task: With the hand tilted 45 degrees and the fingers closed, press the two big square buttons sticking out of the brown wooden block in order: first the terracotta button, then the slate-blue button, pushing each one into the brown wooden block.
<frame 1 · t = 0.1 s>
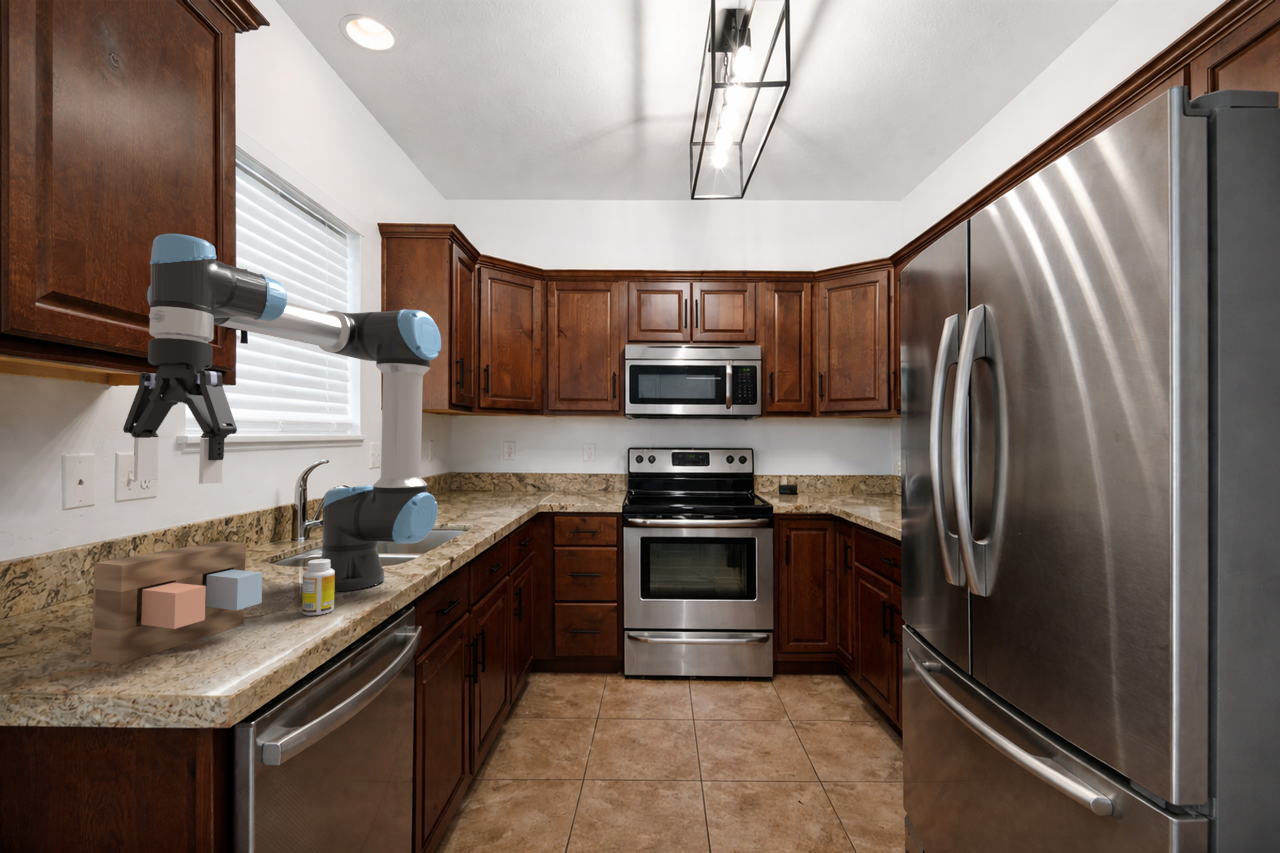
hand: (177, 481, 85), 28 cm above the countertop, tool pointing down, fingers open, 13 cm apart
slate button: (234, 589, 99), point 8 cm above the countertop, slide at 0.0 cm
brown wooden block: (174, 640, 96), on the countertop
supplement bottle: (318, 613, 113), on the countertop
terracotta button: (173, 604, 90), point 8 cm above the countertop, slide at 0.0 cm
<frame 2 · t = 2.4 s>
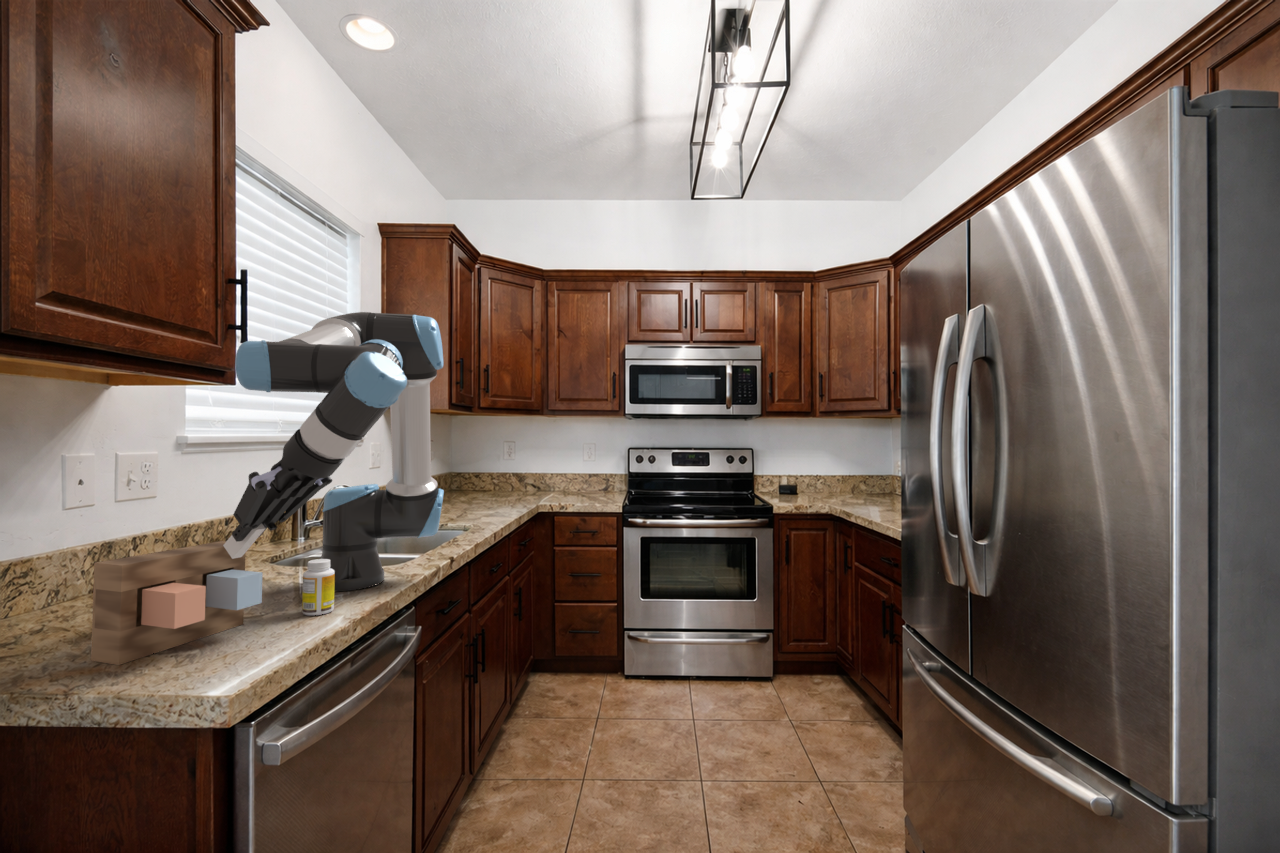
hand: (232, 551, 87), 17 cm above the countertop, tool tilted 45°, fingers closed
nothing on the countertop moved.
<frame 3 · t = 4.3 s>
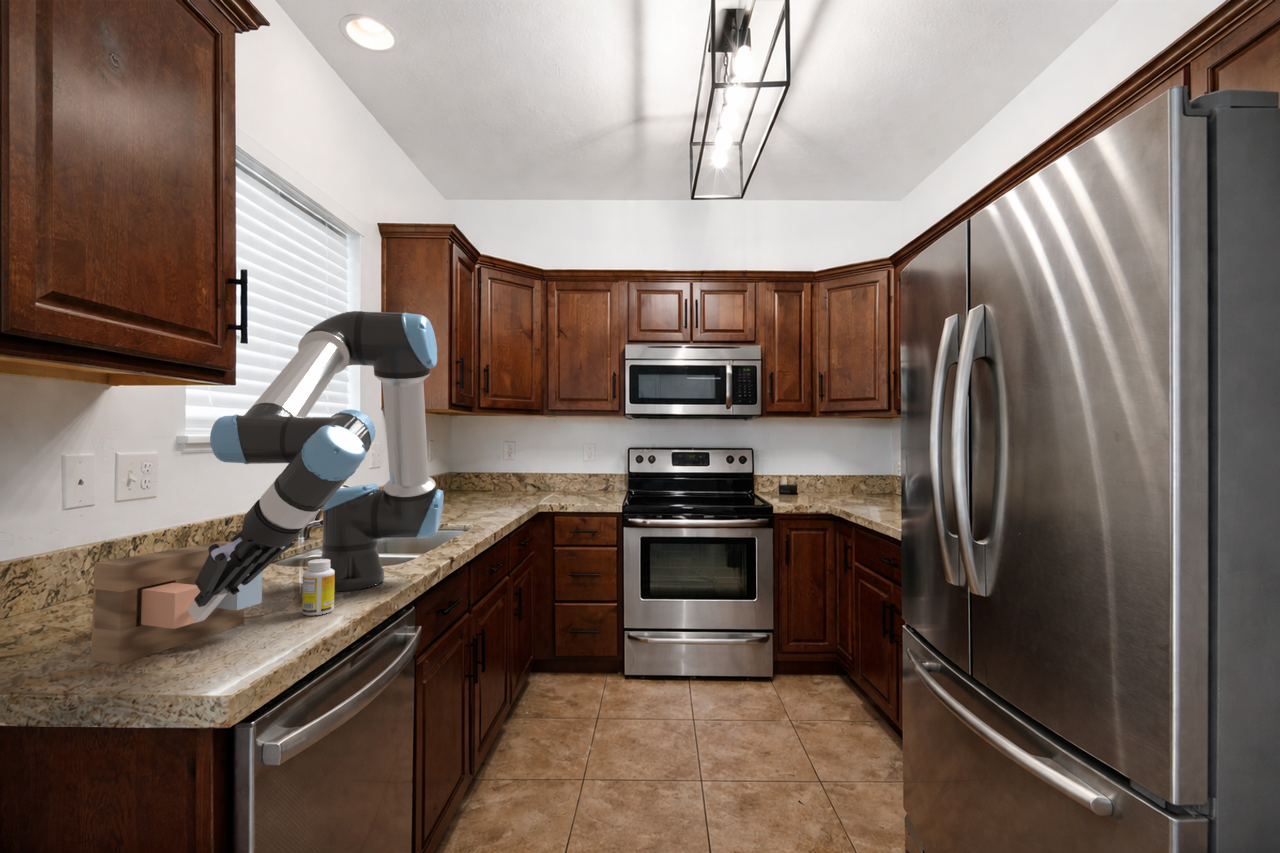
hand: (195, 614, 88), 7 cm above the countertop, tool tilted 45°, fingers closed
terracotta button: (173, 604, 90), point 8 cm above the countertop, slide at 0.1 cm, touching gripper
everything else where it was.
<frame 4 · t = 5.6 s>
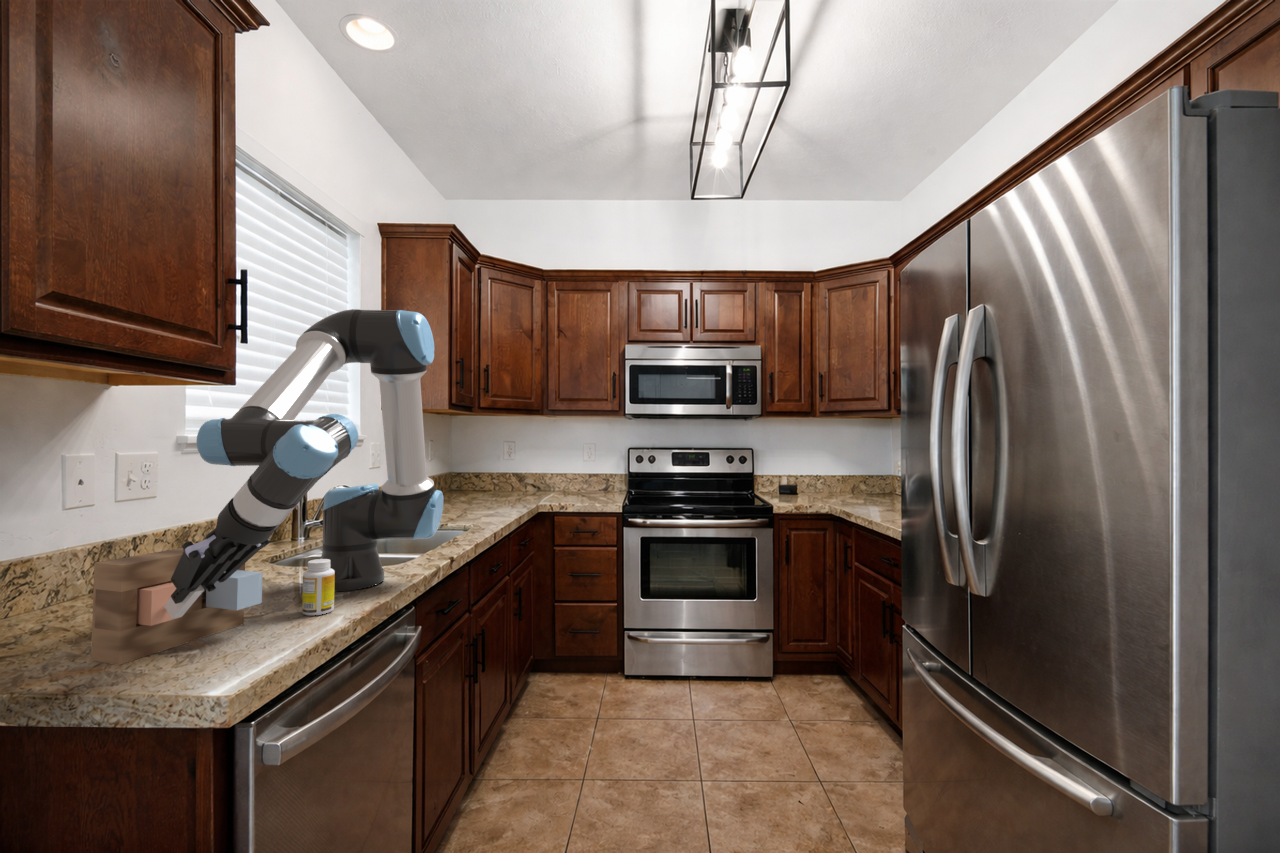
hand: (172, 611, 90), 7 cm above the countertop, tool tilted 45°, fingers closed
terracotta button: (151, 602, 91), point 8 cm above the countertop, slide at 4.9 cm, touching gripper
everything else where it was.
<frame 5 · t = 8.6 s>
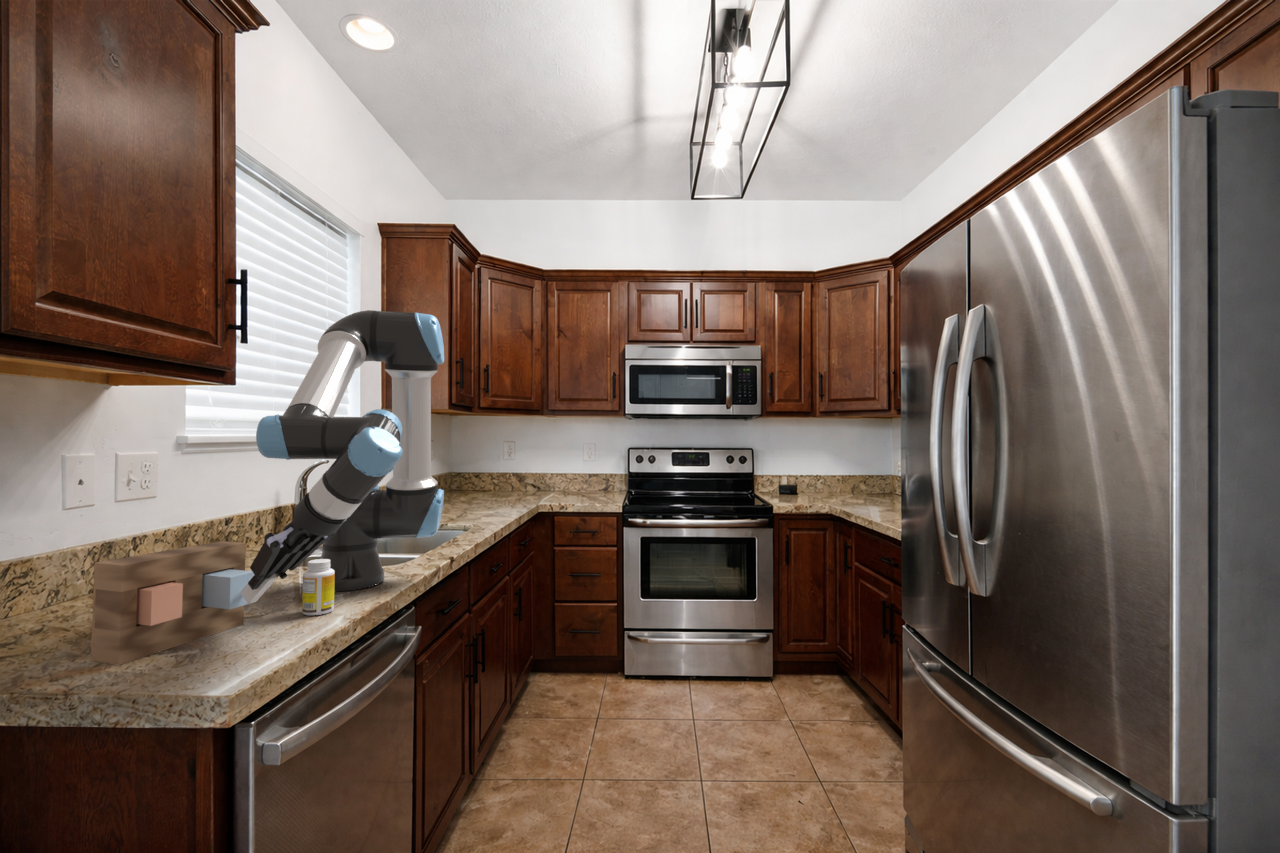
hand: (248, 596, 98), 7 cm above the countertop, tool tilted 45°, fingers closed
slate button: (227, 588, 100), point 8 cm above the countertop, slide at 1.6 cm, touching gripper
terracotta button: (151, 602, 91), point 8 cm above the countertop, slide at 5.0 cm
everything else where it was.
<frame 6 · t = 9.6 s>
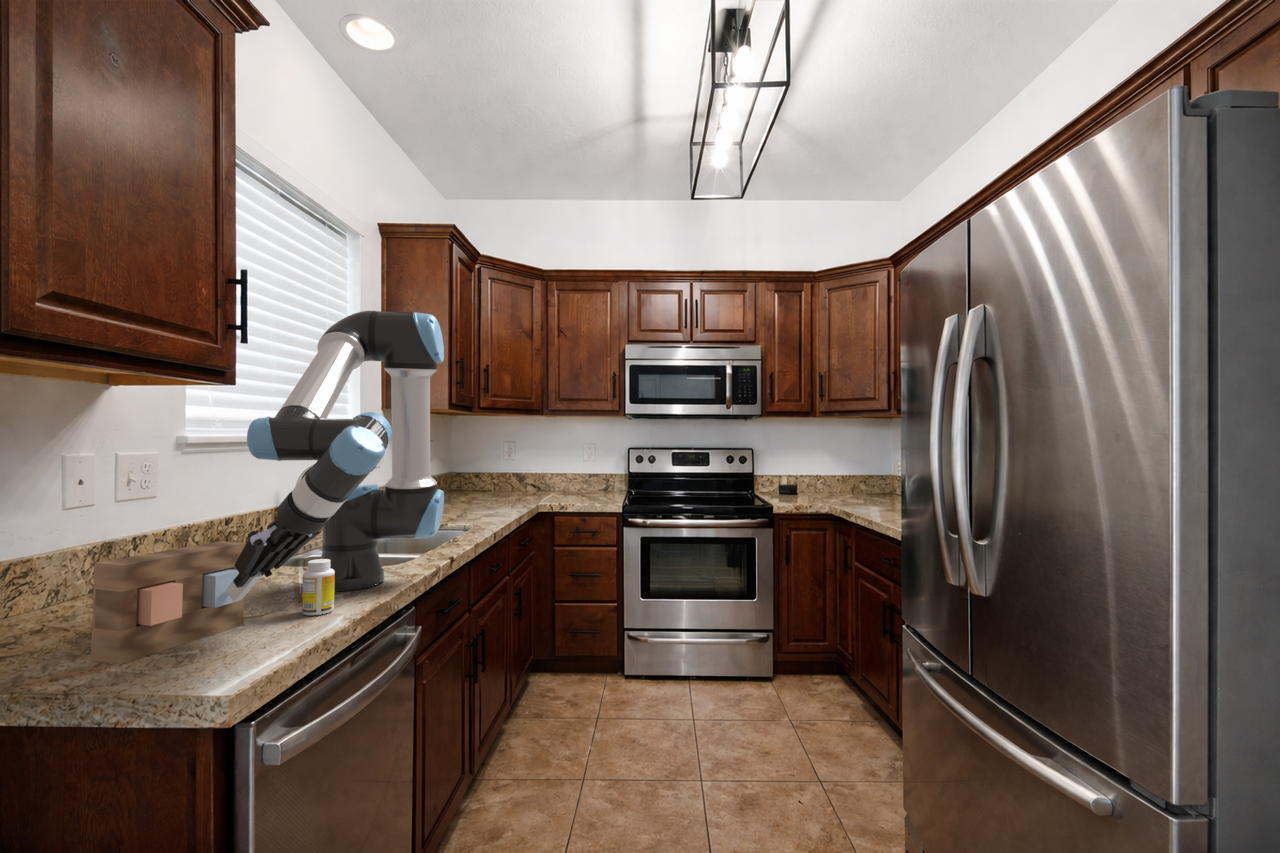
hand: (233, 594, 99), 7 cm above the countertop, tool tilted 45°, fingers closed
slate button: (213, 586, 101), point 8 cm above the countertop, slide at 4.9 cm, touching gripper
everything else where it was.
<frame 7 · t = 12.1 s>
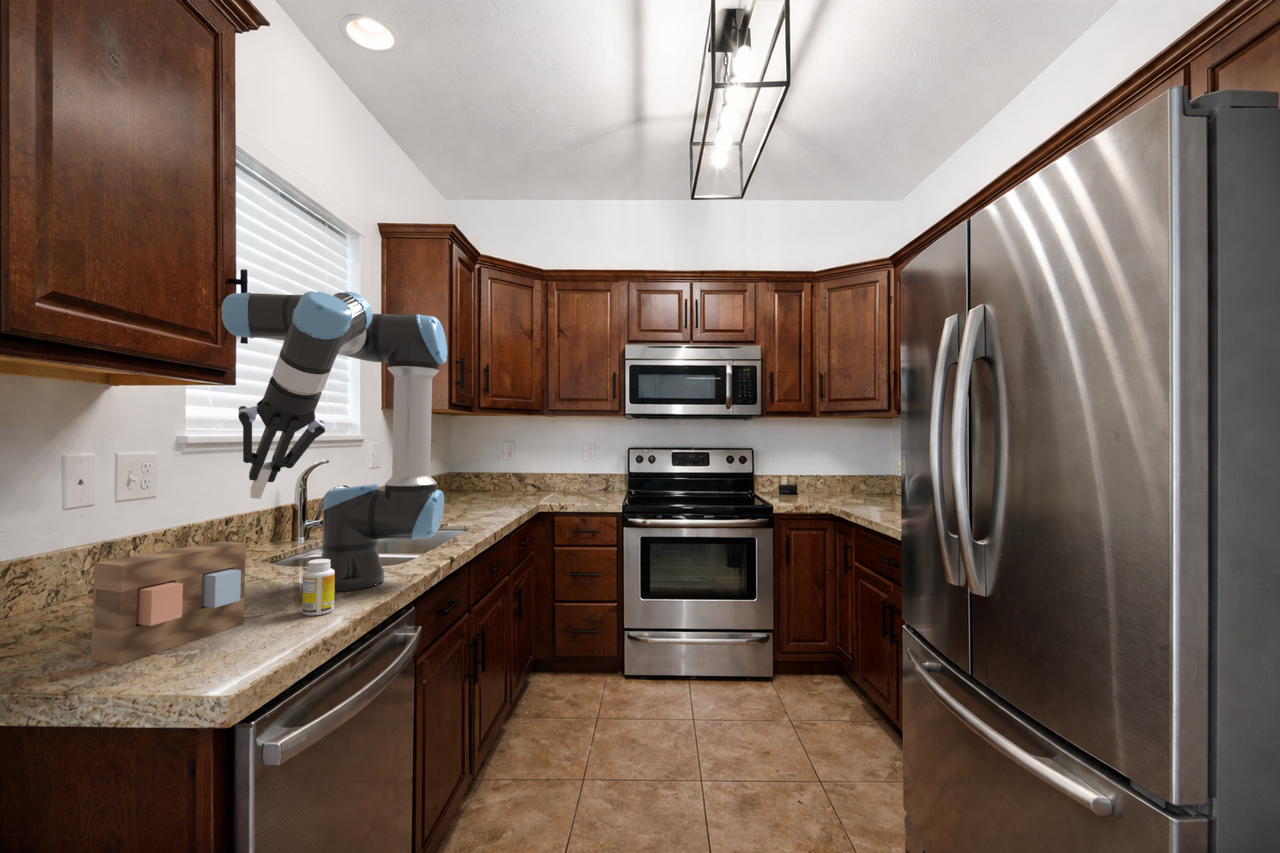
hand: (255, 493, 100), 25 cm above the countertop, tool tilted 35°, fingers closed
slate button: (213, 586, 101), point 8 cm above the countertop, slide at 5.0 cm
everything else where it was.
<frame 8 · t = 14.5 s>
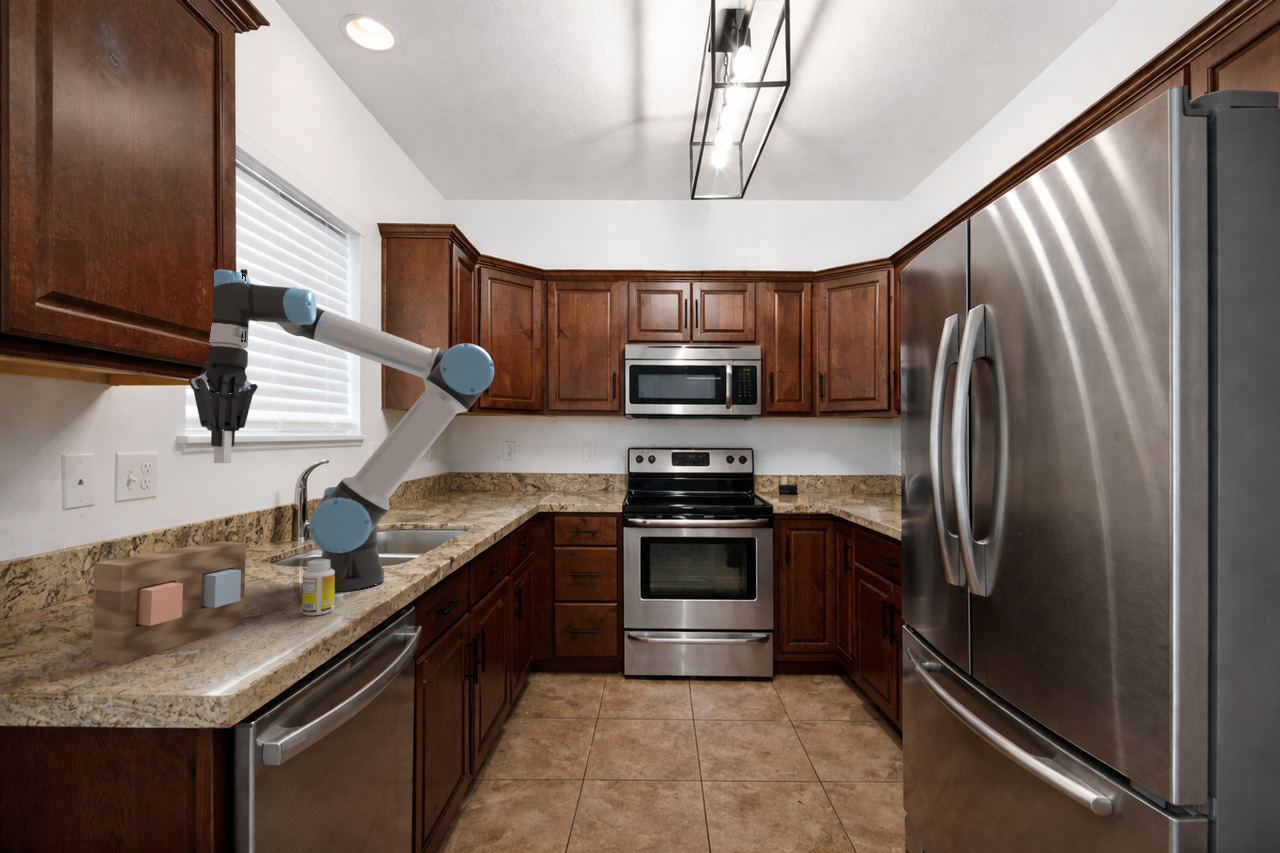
hand: (222, 462, 115), 29 cm above the countertop, tool pointing down, fingers closed
nothing on the countertop moved.
at the end: terracotta button slide at 5.0 cm; slate button slide at 5.0 cm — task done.
